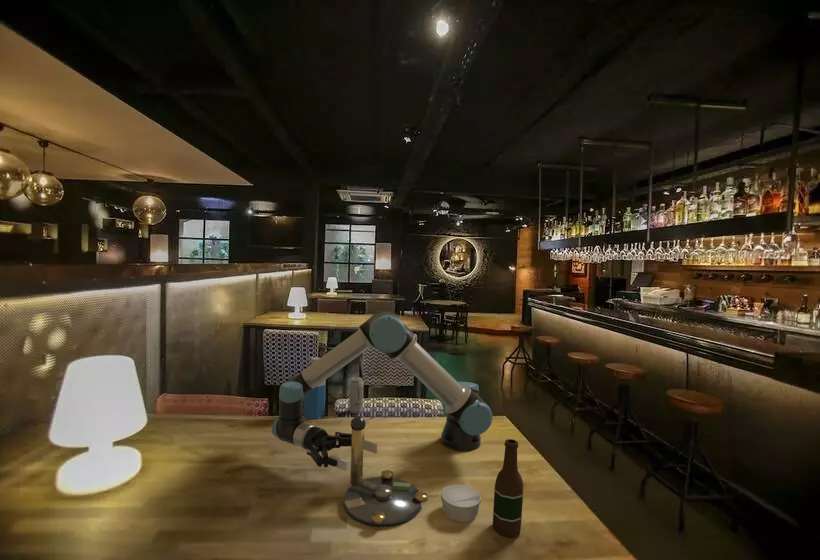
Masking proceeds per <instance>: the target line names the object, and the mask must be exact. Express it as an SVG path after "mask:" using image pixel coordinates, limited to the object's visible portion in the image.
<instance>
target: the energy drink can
mask: <svg viewBox="0 0 820 560" xmlns="http://www.w3.org/2000/svg"><path fill="white" fill-rule="evenodd" d="M364 384H365V383H364V381H363V378H362V377H359V376H358V377H357V376H355V377H352V378H351V380H350V382H349V400H348V401H349V404H348V405H349V409H348V410H349V411H350V413H351V414H354V415H356V414H357V415H359V414H361V413H362V412H363V410H364Z"/></svg>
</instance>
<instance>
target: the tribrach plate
mask: <svg viewBox="0 0 820 560" xmlns="http://www.w3.org/2000/svg"><path fill="white" fill-rule="evenodd" d="M363 479H364V480H367V481H369V482H371V483H374V484H376V485H382V484H385V485H389V486H390V487H391V488H392V497H391V498H390V499H389V500H386V501H380V500H377V499H376V498H375V497H374V493H372V492H370V491H368V490H365V489H363V488H360V487H358V486H352V485H350V487H348V488H347V489H346V491H345V493H344V495H343V496H344V501H343V502H344V503H343V507H344V511H345V513H346V514H347V515H348V516H349V517H350V518H351V519H352V520H353V521H355V522H357V523H359V524H361V525H365V526H367V527H368V526H369V527H373V528H374V527H375V528H392V527H397V526H401V525H404V524H406V523H408V522H410V521H412V520H413V519H414V518H416V516H418V515H419V513H420V511H421V508H422V504H423V503H426V502H427V501H428V497H429V494H428V493H427V492H424V491H420V490H419V489H418V487H416V486H415V485H413V483H411V482H409V481H406V480H404V479H402V478H397V477H394V472H393V471H392V470H389V469H385V470H382V471H381V476H374V477H373V476H372V477H369V478H368V477H367V478H363Z"/></svg>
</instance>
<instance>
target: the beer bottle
mask: <svg viewBox="0 0 820 560" xmlns="http://www.w3.org/2000/svg"><path fill="white" fill-rule="evenodd" d="M504 446H505V447H504V456H503V463H502V468H500V469H501V470H500V471H499V472H498V473H497V476H496V479H495V483H494V492H493V511H492V513H493V514H492V530H493V531H494V532H495V533H497V534H498V535H499V536H501V537H504V538H510V539H512V538H515V537H518V536H520V534H521V529H522V528H521V527H522V518H523V517H522V515H523V501H524V480H523V477H522V474H520V472H519V469H518V448H519V442H518V441H517V440H515V439H512V438H510V439H505V441H504Z"/></svg>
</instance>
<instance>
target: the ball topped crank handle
mask: <svg viewBox="0 0 820 560" xmlns="http://www.w3.org/2000/svg"><path fill="white" fill-rule="evenodd" d="M366 424H367V423H366V420H365V419H364V417H362V416H360V415H358V416H355V417H353V418H352V419H351V421H350V427H351V428H350V429H351V434H352V440H351V446H350V479H349V481H350V482H349V484H350V486H358V487H360V488H363V489H365V490H368V491H370V492H372V493H374V497H375V498H376V499H377V500H380V501H386V500H389V499H390V498H391V497H392V488H391V487H390V486H389V485H385V484H382V485H376V484H374V483H371V482H369V481H367V480H364V479H365V478H363V473H364V471H363V470H364V449H363V446H364V440H365V428H366Z"/></svg>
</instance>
